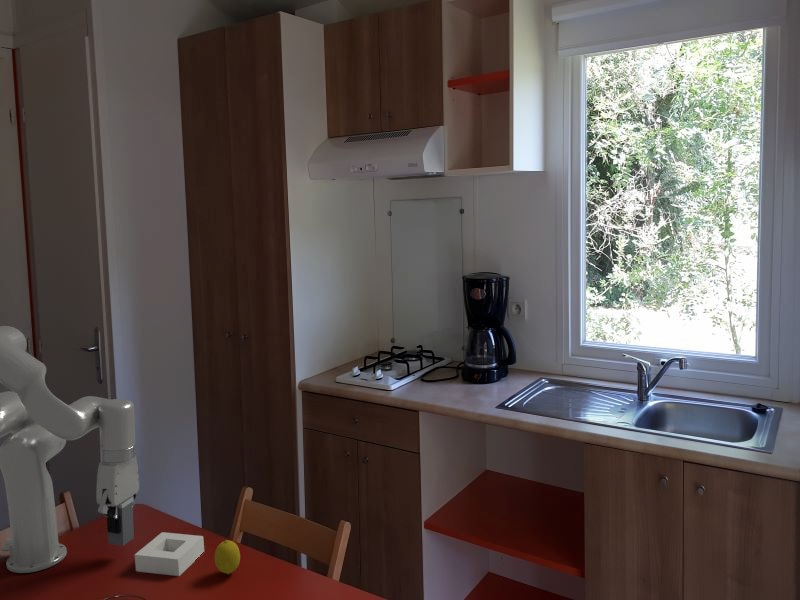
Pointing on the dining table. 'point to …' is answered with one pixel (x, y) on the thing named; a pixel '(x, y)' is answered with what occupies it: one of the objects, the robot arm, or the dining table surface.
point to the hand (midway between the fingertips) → (120, 527)
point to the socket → (169, 554)
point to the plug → (124, 524)
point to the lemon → (227, 557)
